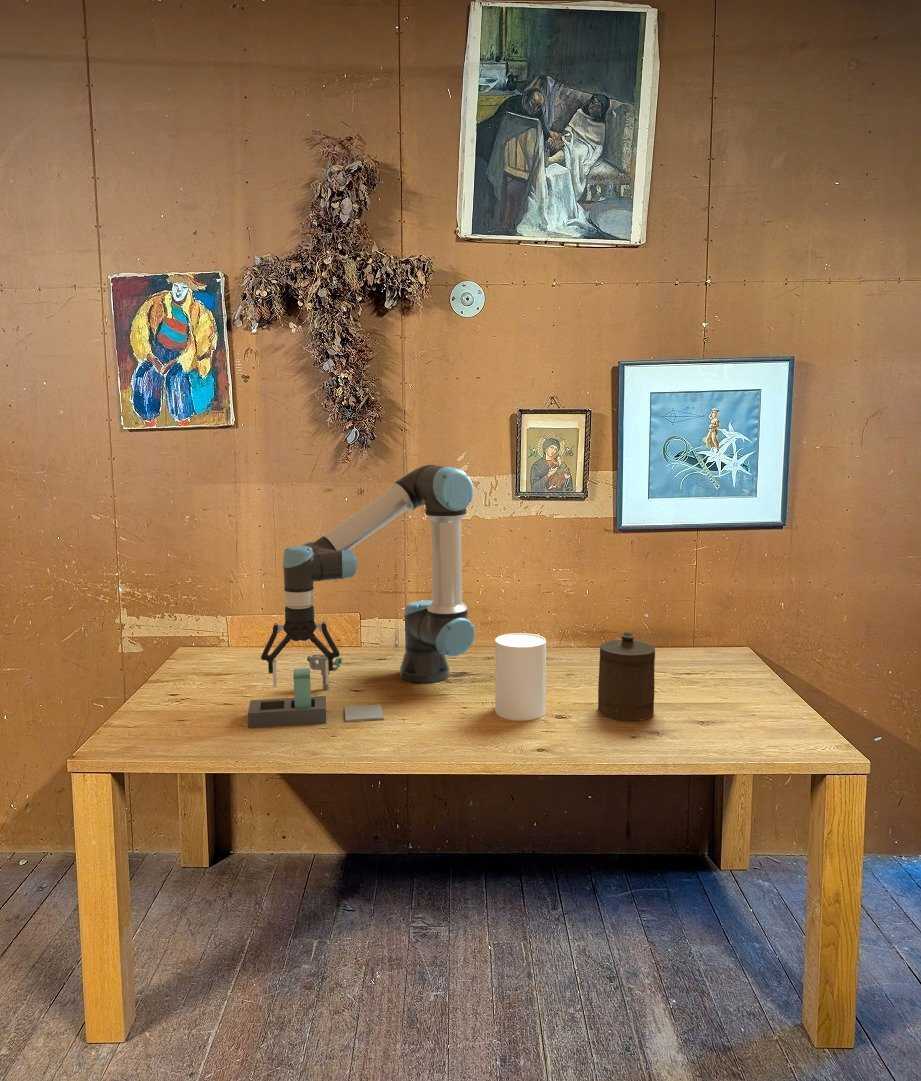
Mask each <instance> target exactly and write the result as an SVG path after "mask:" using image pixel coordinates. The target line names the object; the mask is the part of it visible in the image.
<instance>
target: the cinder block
mask: <svg viewBox="0 0 921 1081" xmlns="http://www.w3.org/2000/svg"><path fill="white" fill-rule="evenodd" d="M326 697H327V696H326V695H318V696H317V695H316V696H314V695H313V696H311V707H303V708H295V701H294V697H283V698H280V697H279V698H267V699H266V698H265V699H264V698H263V699H250V701H249V706H248V710H247V726H248V727H247V729H253V728H256V729H257V728H270V727H271V728H272V727H273V728H274V727H285V726H287V727H288V726H304V725H305V726H306V725H322V724H327V701H326V700H327V698H326Z"/></svg>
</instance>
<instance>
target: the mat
mask: <svg viewBox="0 0 921 1081" xmlns="http://www.w3.org/2000/svg"><path fill="white" fill-rule="evenodd" d="M344 719H345V720H344V721H345V723H351V722H352V723H353V722H366V721H368V722H369V721H384V719H385V718H384V713H383V708H382V704H369V705H352V706H351V705H350V706H349V705H348V706H344Z"/></svg>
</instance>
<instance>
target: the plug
mask: <svg viewBox="0 0 921 1081" xmlns="http://www.w3.org/2000/svg"><path fill="white" fill-rule="evenodd" d="M292 676H293V692H294V693H293V695H294V696H293V698H294V701H295V708H303V707H311V697H312V693H311V692H312V687H311V686H312V685H311V668H309V667H307V668H306V667H305V668H294V669H293V674H292Z"/></svg>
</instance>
